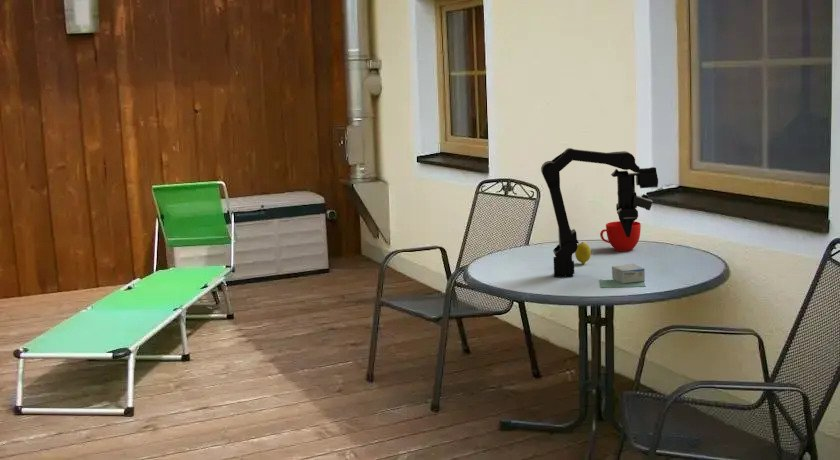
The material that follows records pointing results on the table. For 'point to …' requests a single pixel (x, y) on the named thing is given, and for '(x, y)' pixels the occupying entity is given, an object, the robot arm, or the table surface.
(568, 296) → the table surface
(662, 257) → the table surface
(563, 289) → the table surface
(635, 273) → the medicine box
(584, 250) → the lemon
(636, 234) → the ceramic cup
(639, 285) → the mat
